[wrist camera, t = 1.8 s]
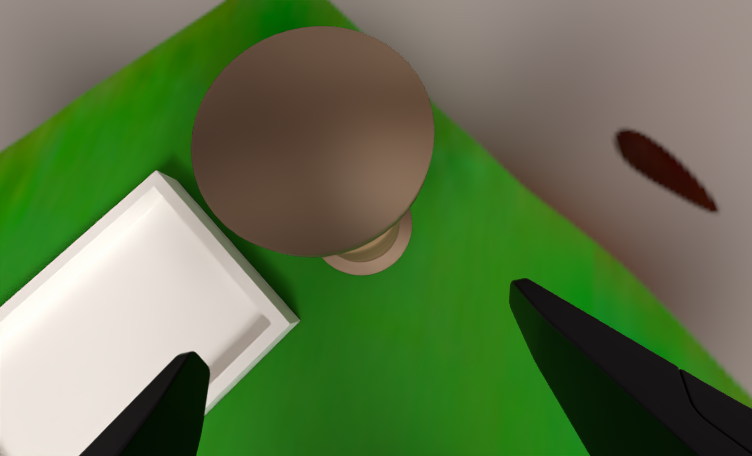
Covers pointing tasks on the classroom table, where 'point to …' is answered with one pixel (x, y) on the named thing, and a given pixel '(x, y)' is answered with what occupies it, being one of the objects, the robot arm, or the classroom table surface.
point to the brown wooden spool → (316, 147)
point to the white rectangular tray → (129, 320)
